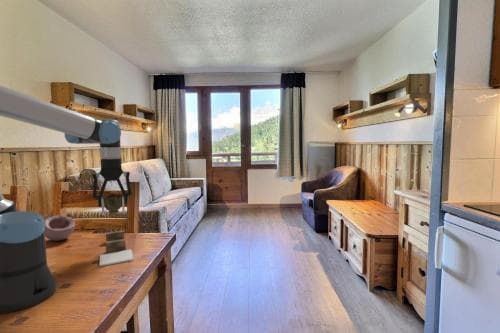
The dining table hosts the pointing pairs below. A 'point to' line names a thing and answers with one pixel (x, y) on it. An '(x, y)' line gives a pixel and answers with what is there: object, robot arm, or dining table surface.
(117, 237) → the walnut slot holder
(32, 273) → the robot arm
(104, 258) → the ceramic tile
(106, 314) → the dining table surface
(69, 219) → the pink bowl
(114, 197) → the cup
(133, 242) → the dining table surface
